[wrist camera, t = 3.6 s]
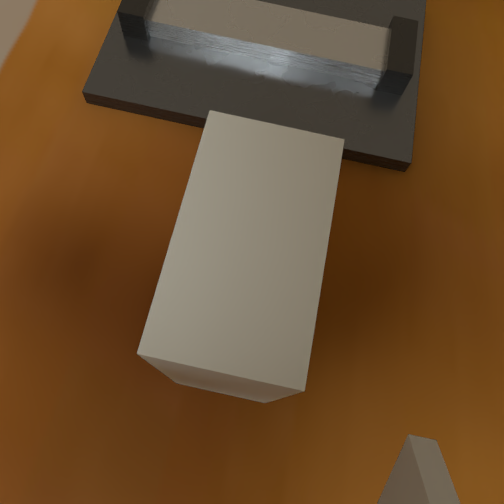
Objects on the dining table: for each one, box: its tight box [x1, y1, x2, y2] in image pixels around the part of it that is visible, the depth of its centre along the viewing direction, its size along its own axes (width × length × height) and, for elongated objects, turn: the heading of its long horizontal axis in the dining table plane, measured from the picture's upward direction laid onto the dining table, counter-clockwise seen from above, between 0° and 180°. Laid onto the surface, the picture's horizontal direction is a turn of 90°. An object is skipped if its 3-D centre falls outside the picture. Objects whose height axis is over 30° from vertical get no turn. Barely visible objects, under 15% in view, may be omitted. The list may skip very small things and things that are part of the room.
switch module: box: [137, 110, 345, 403], centre depth 18 cm, size 9×4×11 cm, turn 168°
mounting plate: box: [82, 0, 426, 172], centre depth 28 cm, size 20×14×3 cm
